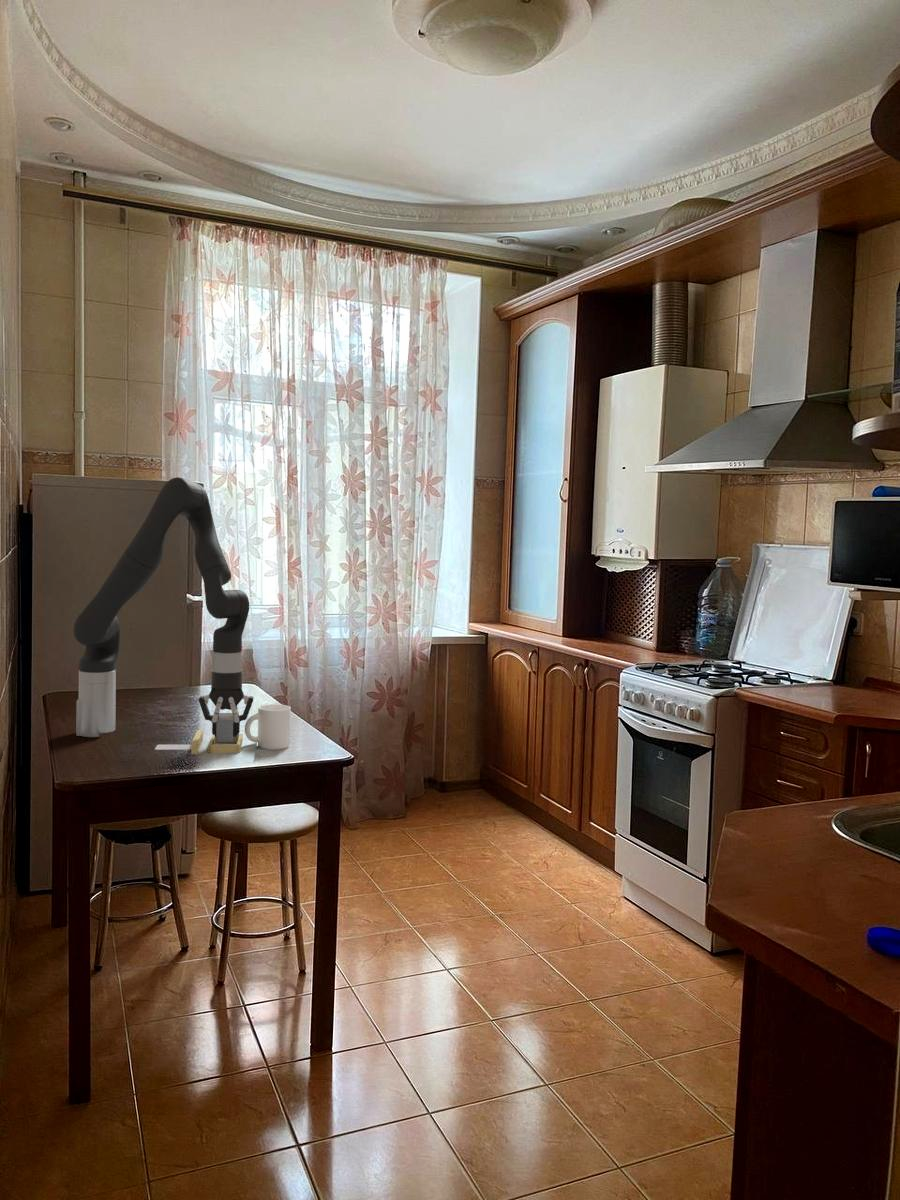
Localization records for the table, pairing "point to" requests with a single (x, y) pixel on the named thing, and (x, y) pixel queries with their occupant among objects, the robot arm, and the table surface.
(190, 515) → the robot arm
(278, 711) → the mug
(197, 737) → the white fixture board
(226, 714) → the block
